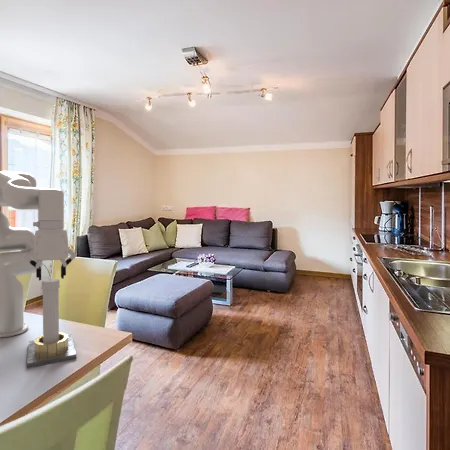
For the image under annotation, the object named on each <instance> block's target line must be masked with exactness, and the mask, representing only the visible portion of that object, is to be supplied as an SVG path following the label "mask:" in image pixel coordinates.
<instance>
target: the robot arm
mask: <svg viewBox="0 0 450 450" xmlns="http://www.w3.org/2000/svg"><path fill="white" fill-rule="evenodd" d="M64 194H65V193H64V191H63V190H62V189H60V188H46V187H37V180H36V178H35V176H34V175H32V174H31V173H28V172H22V171H14V170H13V171H11V170H1V171H0V207H9V208H11V209H12V208H13V209H16V210H20V211H21V210H25V211H26V210H31V211H32V210H36V211H37V210H38V211H37V213H38V214H37V221H35V222H34V221H33V222H32V227H36V228H38V229H36V230H35V232H33V230H31V229H30V228H28V227H12V226H11V224H10V222H9V219H8V217H7V215H6V214H5V213H3V212H2V211H1V210H0V338H9V337H14V336H17V335H21V334H22V333H25V332H27V330H28V329H29V325H28V324H27V323H25V322H24V318H25V317H24V285H23V284H22V282H21V281H20V280H19V279H18V278H17V276H23V275H29V274H35V273H36V274H35V275H36V279H37V278H38V281H42V267H43V264H42V263H43V261H44V262H45V261H58V260H60V262H61V266H60V278H61V279H64V277H65V276H67V266H68V265H69V264H71V262H72V261H73V260H75V259H76V258H77V254H76V253H75V252H74V251H73V250H72V249H71V248H69V239H68V238H69V237H68V231H67V229H65V219H64V218H65V212H64V211H65V200H64V199H65V195H64ZM69 255H70V256H69Z"/></svg>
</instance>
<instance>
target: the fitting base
mask: <svg viewBox="0 0 450 450" xmlns="http://www.w3.org/2000/svg"><path fill="white" fill-rule="evenodd" d="M59 340H60V341H58V342H54V343H43V334H42V335H39V336H37V338H35V339H34V340H28V347H27V349H28V350H27V360H26V368H27V369H30V368H36V367H40V366H44V365H45V366H46V365H49V364H50V365H51V364H55V363H60V362H66V361H70V360H76V359H77V353H76V348H75V343H74V339H73V335H72V333H70V334H68V333H65V332H59Z"/></svg>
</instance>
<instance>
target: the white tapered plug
mask: <svg viewBox="0 0 450 450" xmlns="http://www.w3.org/2000/svg"><path fill="white" fill-rule="evenodd" d="M42 266H44V267H45V269H46V271H47V272H48V274H49V278H47V279H43V280H41V286H40V288H41V290H42V335H43V343H54V342H58V341H60V340H59V333H60V325H59V324H60V320H59V319H60V315H59V313H60V312H59V311H60V310H59V306H60V305H59V304H60V302H59V301H60V300H59V299H60V296H59V292H60V291H59V289H60V288H61V285H60V279H58V278H52V277H51V274H50V270H49V269H48V267H47V266H46V265H45V264H44V263H43V262H42Z"/></svg>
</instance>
